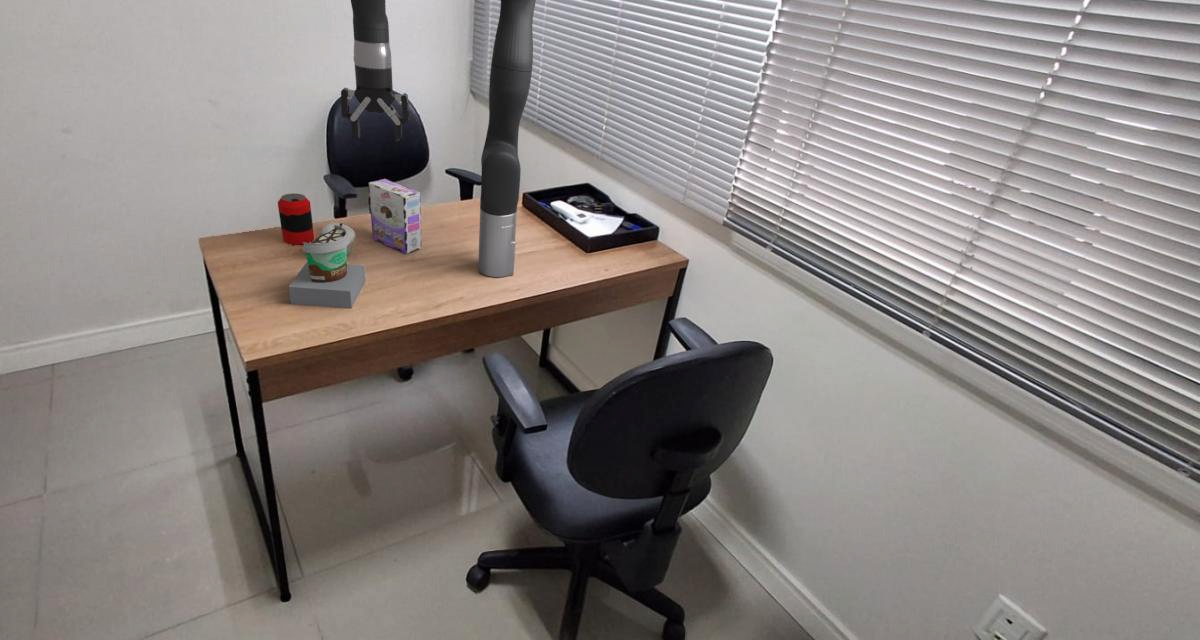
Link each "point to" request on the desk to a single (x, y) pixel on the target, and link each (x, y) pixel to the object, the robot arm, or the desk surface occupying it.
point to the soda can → (296, 219)
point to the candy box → (395, 215)
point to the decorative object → (350, 232)
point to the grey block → (327, 289)
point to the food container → (328, 255)
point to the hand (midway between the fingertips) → (377, 138)
